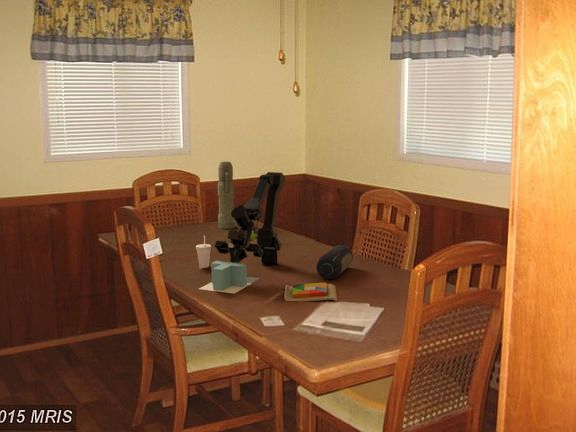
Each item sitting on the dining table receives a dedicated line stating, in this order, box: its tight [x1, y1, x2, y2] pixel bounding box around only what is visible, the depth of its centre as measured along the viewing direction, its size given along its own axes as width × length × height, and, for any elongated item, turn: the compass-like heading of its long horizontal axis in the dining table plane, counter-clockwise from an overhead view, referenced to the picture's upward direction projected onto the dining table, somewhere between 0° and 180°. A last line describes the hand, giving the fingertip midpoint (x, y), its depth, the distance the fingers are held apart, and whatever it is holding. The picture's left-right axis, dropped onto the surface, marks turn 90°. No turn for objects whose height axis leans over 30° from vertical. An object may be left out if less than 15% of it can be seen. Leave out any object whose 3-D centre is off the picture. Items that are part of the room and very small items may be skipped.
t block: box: [210, 260, 248, 291], centre depth 271 cm, size 11×13×8 cm
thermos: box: [217, 161, 236, 230], centre depth 381 cm, size 9×12×35 cm
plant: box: [248, 220, 263, 246], centre depth 346 cm, size 20×20×11 cm
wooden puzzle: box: [283, 282, 338, 303], centre depth 263 cm, size 18×19×4 cm
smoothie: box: [195, 235, 212, 270], centre depth 300 cm, size 6×6×14 cm
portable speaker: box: [316, 244, 354, 280], centre depth 291 cm, size 25×10×10 cm, turn 160°
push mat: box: [198, 276, 261, 294], centre depth 275 cm, size 22×15×1 cm
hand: (231, 267), depth 276 cm, fingers closed, pressing on t block
